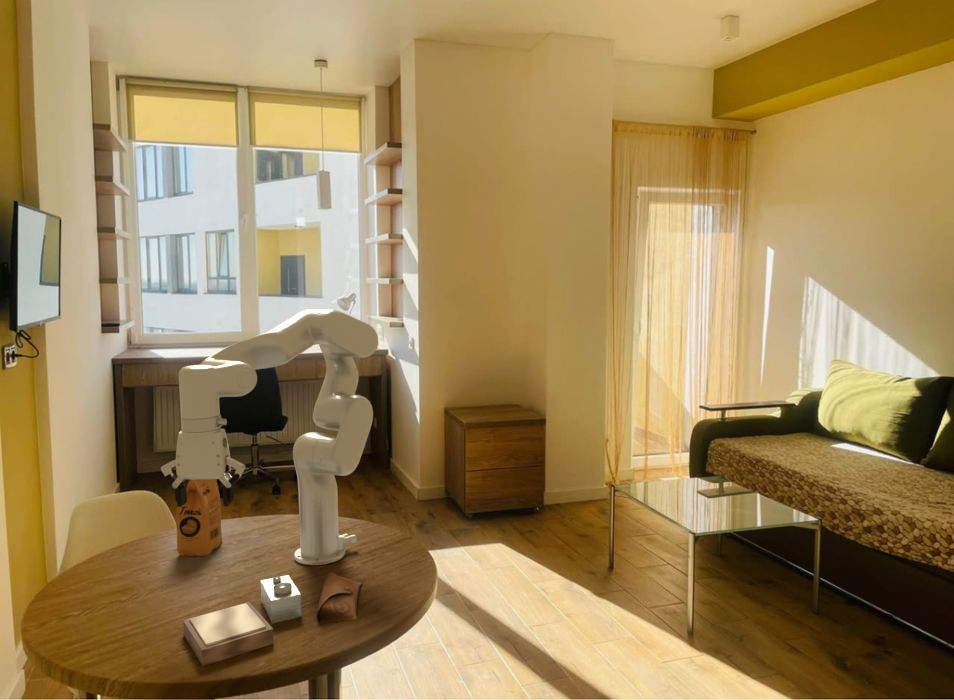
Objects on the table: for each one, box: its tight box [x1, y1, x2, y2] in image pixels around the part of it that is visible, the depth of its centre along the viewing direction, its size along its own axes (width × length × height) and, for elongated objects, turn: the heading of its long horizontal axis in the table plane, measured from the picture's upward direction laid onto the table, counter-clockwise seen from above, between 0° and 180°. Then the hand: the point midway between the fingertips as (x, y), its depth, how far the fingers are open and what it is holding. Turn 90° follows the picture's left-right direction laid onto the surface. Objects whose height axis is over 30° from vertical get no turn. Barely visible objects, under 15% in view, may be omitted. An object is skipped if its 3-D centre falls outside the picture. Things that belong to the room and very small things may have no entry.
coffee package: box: [175, 479, 223, 557], centre depth 179 cm, size 10×12×22 cm
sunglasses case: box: [316, 571, 362, 623], centre depth 149 cm, size 18×7×7 cm
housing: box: [260, 574, 302, 624], centre depth 145 cm, size 6×11×6 cm, turn 28°
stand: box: [182, 601, 275, 667], centre depth 133 cm, size 13×14×3 cm
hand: (205, 504), depth 144 cm, fingers open, 9 cm apart
